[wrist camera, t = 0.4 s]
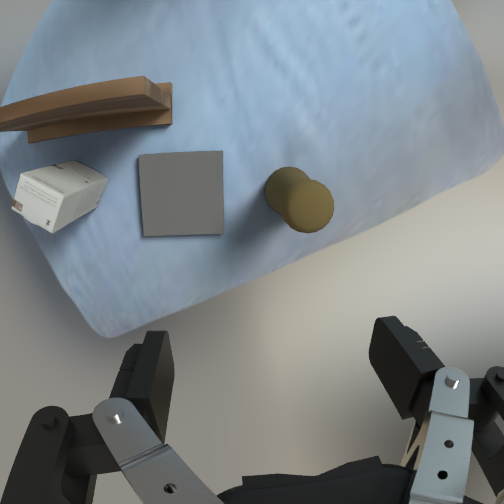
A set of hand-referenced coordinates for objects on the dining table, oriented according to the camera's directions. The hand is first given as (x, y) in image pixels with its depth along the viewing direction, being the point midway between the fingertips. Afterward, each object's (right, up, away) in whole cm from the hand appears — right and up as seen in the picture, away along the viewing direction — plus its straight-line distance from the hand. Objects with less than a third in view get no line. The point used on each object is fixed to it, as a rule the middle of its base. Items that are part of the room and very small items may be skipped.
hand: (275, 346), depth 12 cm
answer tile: (-9, +11, +27) cm, 30 cm away
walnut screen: (-20, +21, +22) cm, 36 cm away
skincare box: (-22, +12, +25) cm, 36 cm away
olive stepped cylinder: (+4, +11, +28) cm, 30 cm away
